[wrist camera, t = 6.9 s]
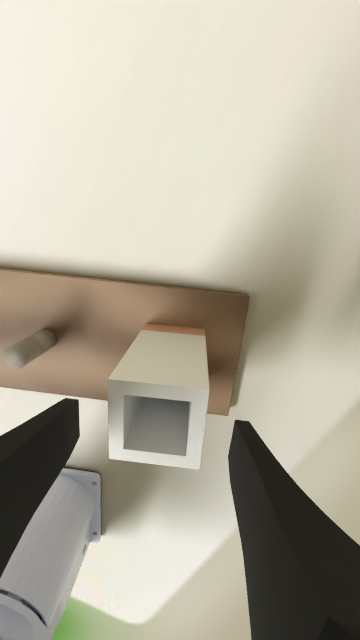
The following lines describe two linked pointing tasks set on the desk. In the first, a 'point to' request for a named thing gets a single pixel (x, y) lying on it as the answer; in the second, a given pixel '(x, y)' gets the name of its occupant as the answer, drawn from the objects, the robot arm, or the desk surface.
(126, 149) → the desk surface
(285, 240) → the desk surface
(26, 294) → the pin board
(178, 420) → the sleeve
